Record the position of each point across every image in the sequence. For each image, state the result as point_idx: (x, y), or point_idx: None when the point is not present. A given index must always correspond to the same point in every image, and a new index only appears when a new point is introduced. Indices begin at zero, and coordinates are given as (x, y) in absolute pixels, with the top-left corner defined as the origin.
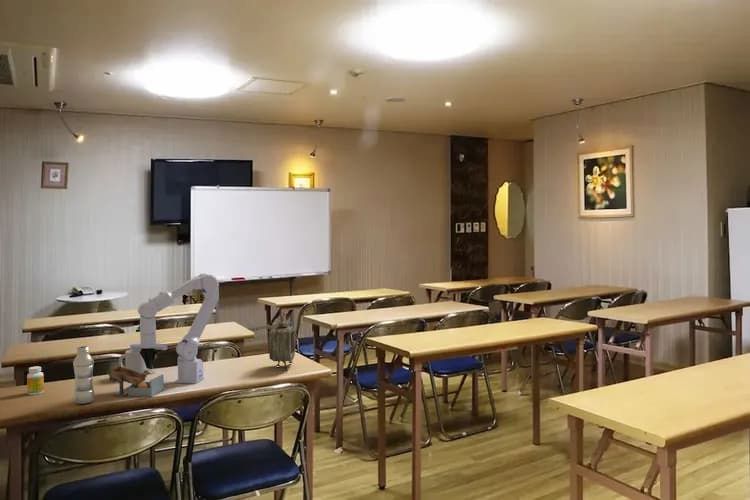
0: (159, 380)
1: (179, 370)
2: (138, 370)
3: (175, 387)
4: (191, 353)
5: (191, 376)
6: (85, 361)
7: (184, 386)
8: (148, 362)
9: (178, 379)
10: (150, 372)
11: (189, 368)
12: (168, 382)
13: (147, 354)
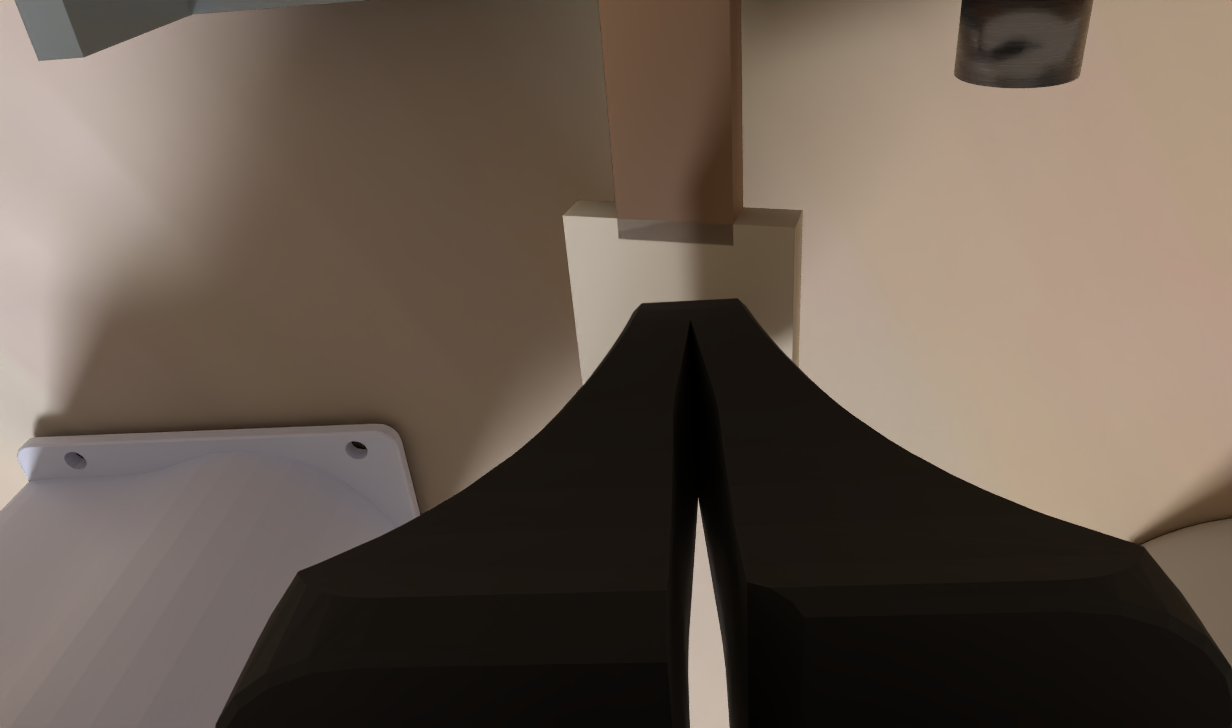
0: None
1: (232, 600)
2: None
3: (172, 203)
4: None
5: (65, 532)
6: None
7: (74, 282)
8: (629, 368)
9: (339, 497)
10: (607, 245)
11: (3, 640)
12: (515, 447)
13: (581, 540)
